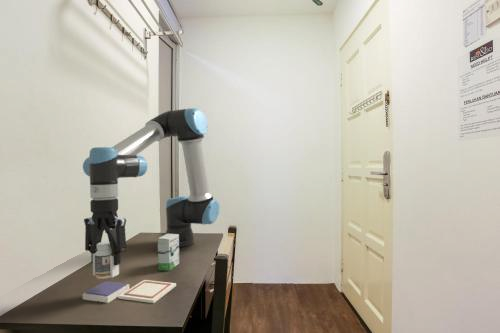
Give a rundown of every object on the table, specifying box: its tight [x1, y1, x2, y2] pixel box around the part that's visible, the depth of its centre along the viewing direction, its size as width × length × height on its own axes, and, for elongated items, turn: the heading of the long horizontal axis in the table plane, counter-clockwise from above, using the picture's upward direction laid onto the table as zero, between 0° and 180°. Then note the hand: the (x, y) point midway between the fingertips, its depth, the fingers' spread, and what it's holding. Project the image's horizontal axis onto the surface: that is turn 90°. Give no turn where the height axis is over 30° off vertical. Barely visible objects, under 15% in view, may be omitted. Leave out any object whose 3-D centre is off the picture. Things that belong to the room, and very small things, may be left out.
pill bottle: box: [95, 240, 112, 280], centre depth 88 cm, size 6×6×10 cm
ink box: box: [157, 233, 180, 272], centre depth 111 cm, size 9×5×12 cm, turn 168°
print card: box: [117, 279, 177, 304], centre depth 89 cm, size 12×12×1 cm
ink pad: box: [82, 280, 130, 304], centre depth 88 cm, size 9×9×2 cm
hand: (106, 274), depth 88 cm, fingers closed on pill bottle, 6 cm apart
